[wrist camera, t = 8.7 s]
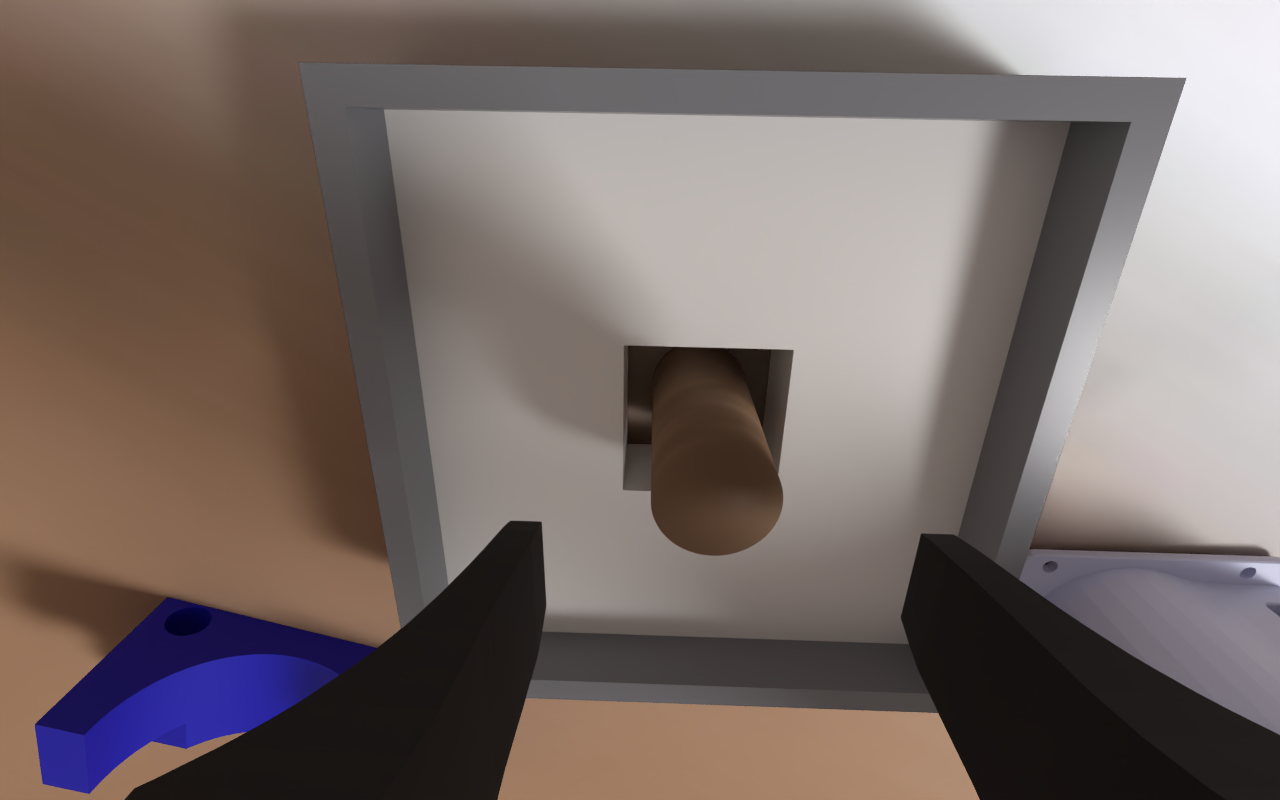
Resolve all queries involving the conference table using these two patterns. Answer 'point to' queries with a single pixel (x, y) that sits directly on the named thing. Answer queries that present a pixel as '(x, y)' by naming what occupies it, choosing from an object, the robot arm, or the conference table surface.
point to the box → (724, 337)
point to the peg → (710, 455)
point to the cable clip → (183, 688)
